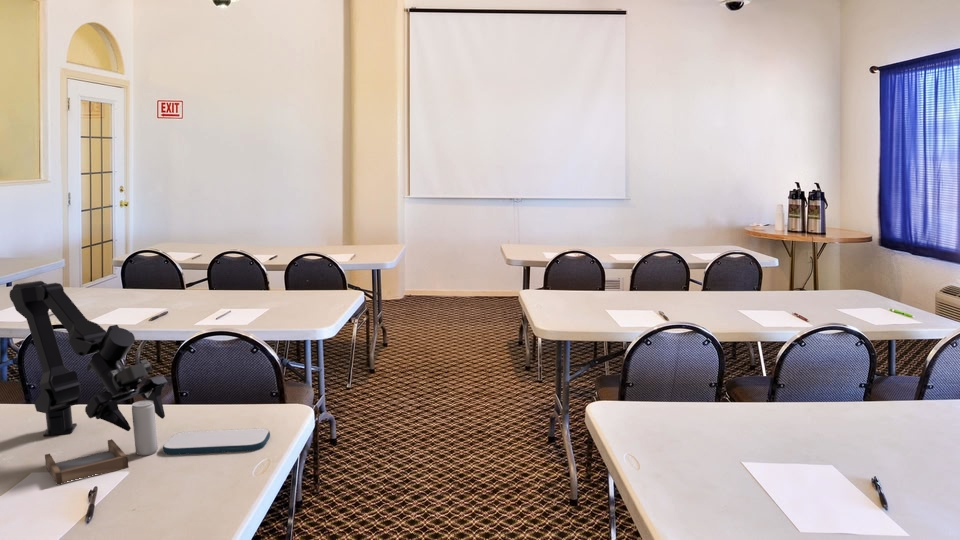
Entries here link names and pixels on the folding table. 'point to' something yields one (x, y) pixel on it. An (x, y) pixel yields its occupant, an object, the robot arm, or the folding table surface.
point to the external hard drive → (217, 441)
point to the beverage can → (144, 427)
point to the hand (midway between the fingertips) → (146, 423)
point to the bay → (87, 464)
